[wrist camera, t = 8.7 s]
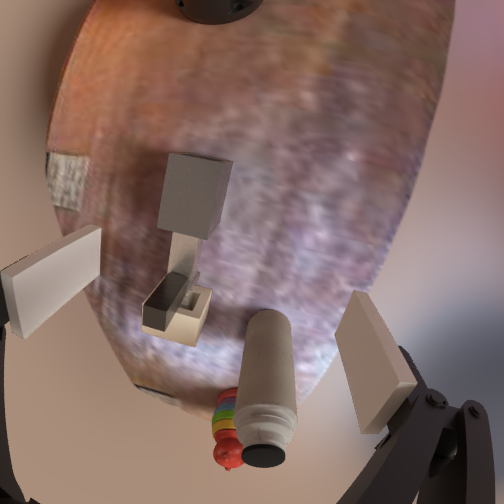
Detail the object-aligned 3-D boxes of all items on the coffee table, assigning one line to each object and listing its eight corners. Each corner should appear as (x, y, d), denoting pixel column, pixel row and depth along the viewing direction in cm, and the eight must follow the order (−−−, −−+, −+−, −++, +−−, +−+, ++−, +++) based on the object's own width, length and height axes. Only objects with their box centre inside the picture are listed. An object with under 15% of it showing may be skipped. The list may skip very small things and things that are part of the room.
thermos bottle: (290, 344, 53) (297, 474, 27) (248, 345, 54) (231, 473, 28) (291, 308, 51) (302, 442, 24) (245, 309, 51) (223, 441, 25)
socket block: (163, 276, 50) (142, 302, 41) (212, 289, 51) (199, 319, 41) (161, 302, 52) (141, 331, 43) (207, 315, 52) (194, 347, 43)
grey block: (190, 152, 43) (169, 152, 34) (233, 161, 43) (222, 163, 34) (178, 213, 47) (156, 227, 37) (219, 222, 47) (206, 240, 37)
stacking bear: (259, 418, 61) (254, 479, 44) (216, 413, 62) (204, 473, 45) (264, 388, 58) (260, 455, 41) (217, 383, 58) (201, 448, 41)
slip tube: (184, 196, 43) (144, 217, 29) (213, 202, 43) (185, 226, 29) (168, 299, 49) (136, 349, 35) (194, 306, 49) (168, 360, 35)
